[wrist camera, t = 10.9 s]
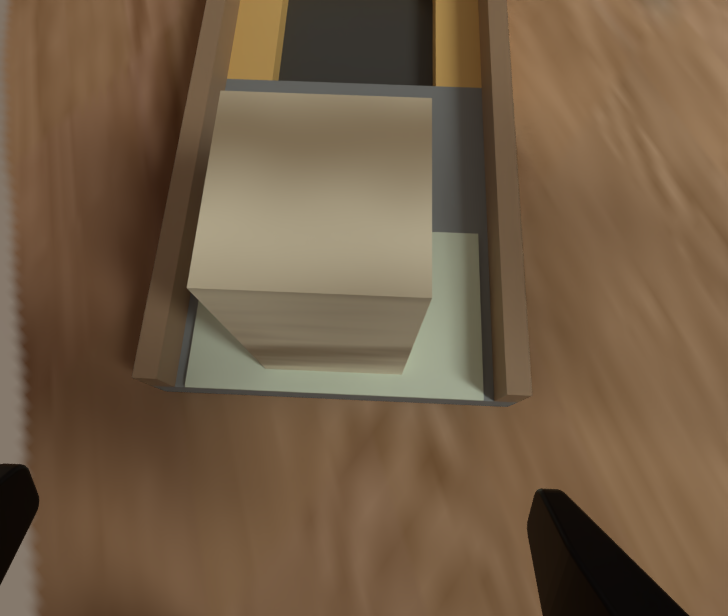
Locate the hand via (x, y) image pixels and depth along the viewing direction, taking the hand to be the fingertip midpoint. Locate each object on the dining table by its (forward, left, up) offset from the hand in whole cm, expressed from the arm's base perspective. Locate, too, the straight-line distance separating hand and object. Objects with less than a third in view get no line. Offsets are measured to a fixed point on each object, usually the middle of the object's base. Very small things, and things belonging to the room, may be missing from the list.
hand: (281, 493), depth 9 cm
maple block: (+7, -2, -12) cm, 14 cm away
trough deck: (+17, -4, -14) cm, 22 cm away
